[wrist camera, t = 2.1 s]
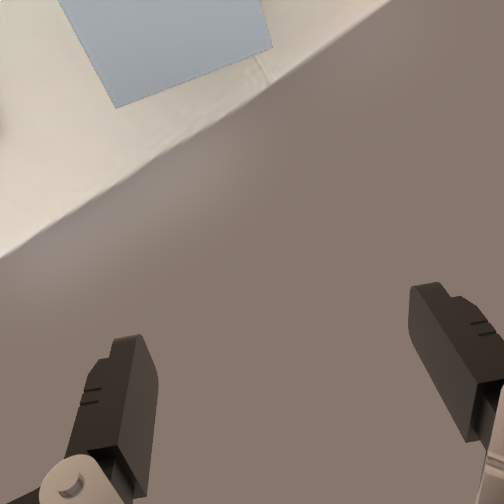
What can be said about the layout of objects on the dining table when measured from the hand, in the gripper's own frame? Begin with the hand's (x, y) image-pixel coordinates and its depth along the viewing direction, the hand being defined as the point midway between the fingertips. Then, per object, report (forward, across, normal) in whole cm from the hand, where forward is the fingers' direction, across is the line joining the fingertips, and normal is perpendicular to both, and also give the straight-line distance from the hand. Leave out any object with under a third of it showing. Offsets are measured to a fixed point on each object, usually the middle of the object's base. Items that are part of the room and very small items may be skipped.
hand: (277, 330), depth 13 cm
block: (+23, +3, -8) cm, 25 cm away
